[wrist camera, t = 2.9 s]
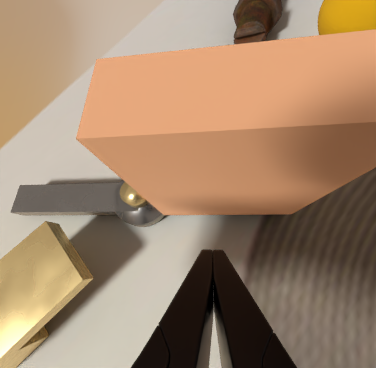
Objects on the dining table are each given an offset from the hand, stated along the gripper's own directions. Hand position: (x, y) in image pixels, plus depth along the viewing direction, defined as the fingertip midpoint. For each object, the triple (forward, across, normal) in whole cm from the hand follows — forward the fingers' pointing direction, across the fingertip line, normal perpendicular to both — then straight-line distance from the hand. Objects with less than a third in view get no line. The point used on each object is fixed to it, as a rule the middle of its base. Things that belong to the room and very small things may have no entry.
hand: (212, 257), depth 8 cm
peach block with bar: (+8, +6, +2) cm, 10 cm away
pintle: (+7, +6, +1) cm, 9 cm away
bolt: (+25, -6, -14) cm, 29 cm away
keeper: (+3, +13, +7) cm, 15 cm away
